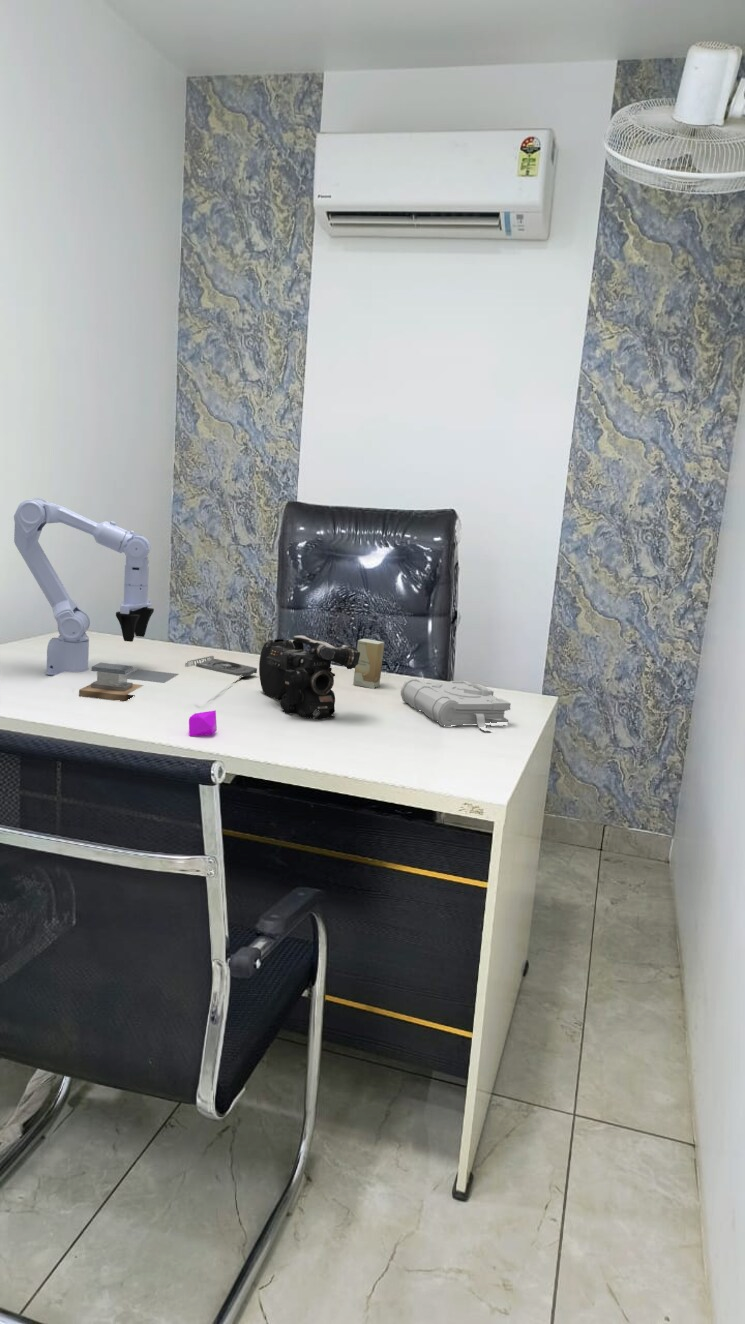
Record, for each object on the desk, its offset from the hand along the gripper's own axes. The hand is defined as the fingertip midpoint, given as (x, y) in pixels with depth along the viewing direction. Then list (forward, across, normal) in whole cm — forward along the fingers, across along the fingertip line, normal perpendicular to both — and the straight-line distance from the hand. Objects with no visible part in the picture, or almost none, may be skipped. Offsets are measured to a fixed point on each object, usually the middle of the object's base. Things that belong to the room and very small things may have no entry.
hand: (134, 638), depth 231 cm
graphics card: (+11, +14, -19) cm, 26 cm away
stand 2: (+10, -2, -6) cm, 12 cm away
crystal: (+10, -41, -31) cm, 52 cm away
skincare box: (+10, +20, -57) cm, 61 cm away
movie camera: (+10, -10, -45) cm, 47 cm away
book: (+10, -2, -82) cm, 83 cm away
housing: (+8, -18, -2) cm, 20 cm away
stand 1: (+10, -18, -2) cm, 21 cm away
